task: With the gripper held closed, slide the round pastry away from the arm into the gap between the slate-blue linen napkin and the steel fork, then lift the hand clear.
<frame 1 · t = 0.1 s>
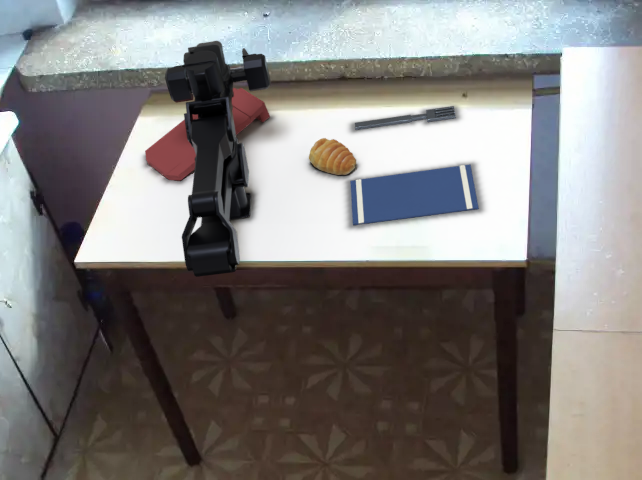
hand: (220, 54, 179), 17 cm above the table, tool horizontal, fingers open, 9 cm apart
napkin: (412, 195, 170), on the table
red angular block: (209, 141, 191), on the table
pastry: (333, 163, 180), on the table
fork: (403, 120, 184), on the table
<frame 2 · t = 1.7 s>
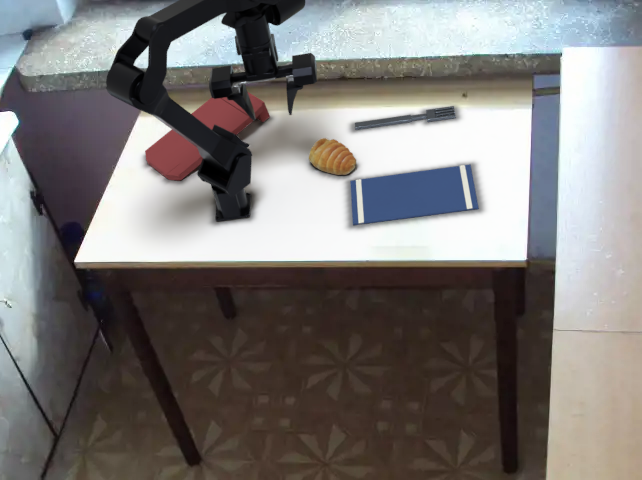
hand: (272, 116, 172), 12 cm above the table, tool pointing down, fingers open, 6 cm apart
nothing on the table moved.
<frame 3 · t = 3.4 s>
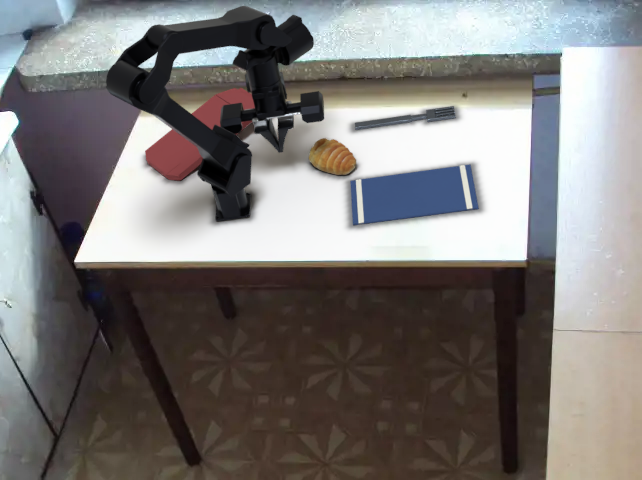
hand: (280, 150, 177), 4 cm above the table, tool pointing down, fingers closed
nothing on the table moved.
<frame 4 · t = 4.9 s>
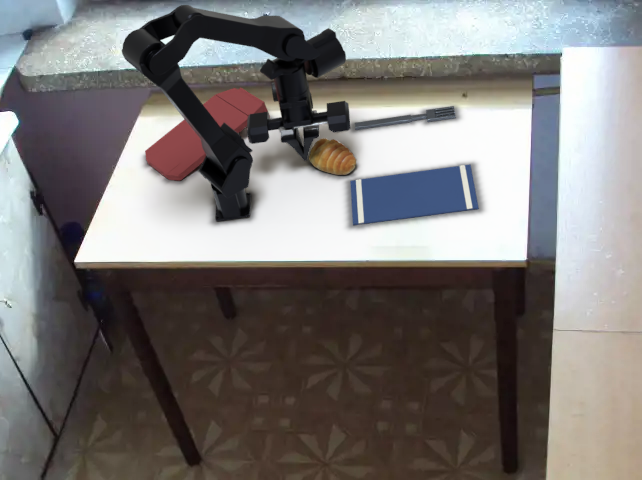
hand: (305, 159, 179), 2 cm above the table, tool pointing down, fingers closed
pastry: (333, 163, 180), on the table, touching gripper
everything else where it was.
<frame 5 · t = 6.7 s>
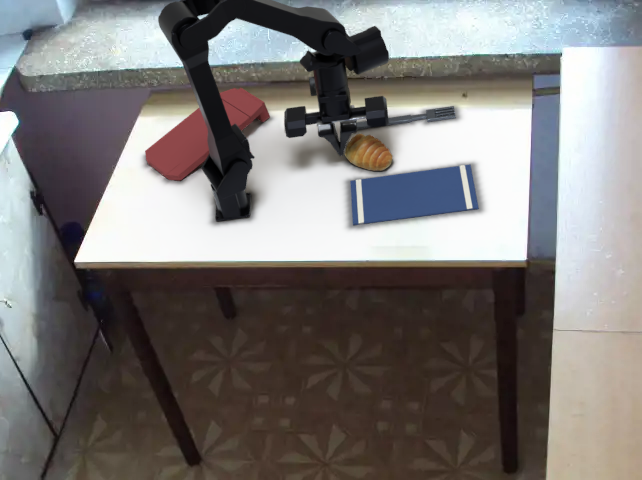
hand: (341, 154, 178), 2 cm above the table, tool pointing down, fingers closed
pastry: (369, 159, 179), on the table, touching gripper
everything else where it was.
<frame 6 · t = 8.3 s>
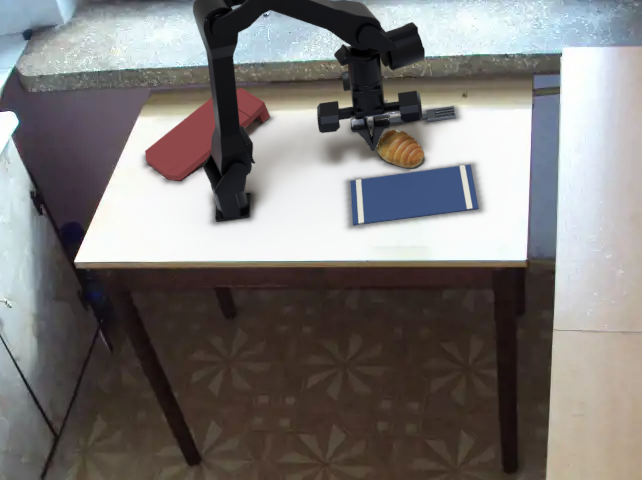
hand: (373, 149, 177), 2 cm above the table, tool pointing down, fingers closed
pastry: (401, 155, 178), on the table, touching gripper
everything else where it was.
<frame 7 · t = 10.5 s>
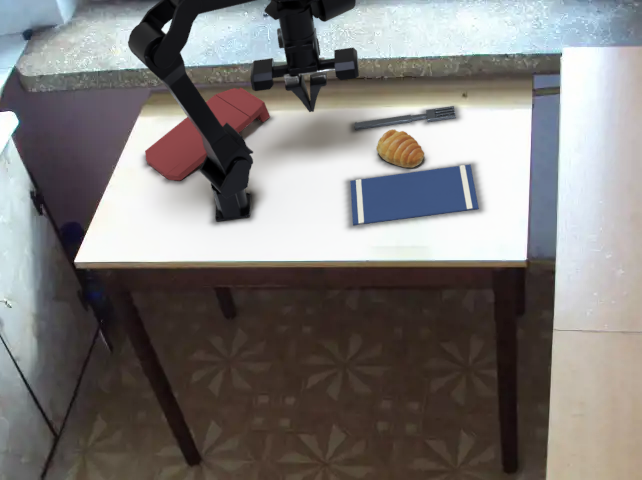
hand: (311, 110, 171), 12 cm above the table, tool pointing down, fingers closed
pastry: (401, 155, 178), on the table
everything else where it was.
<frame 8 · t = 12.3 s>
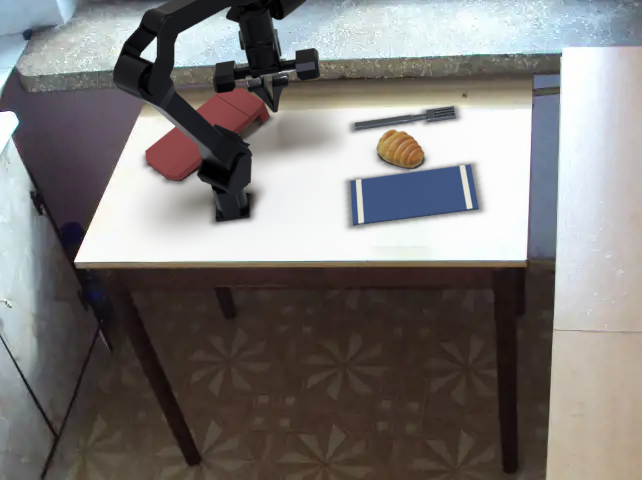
hand: (275, 111, 173), 12 cm above the table, tool pointing down, fingers closed
nothing on the table moved.
at the end: pastry inside the target area (1.4 cm from its centre), on the table; pastry touching table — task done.
